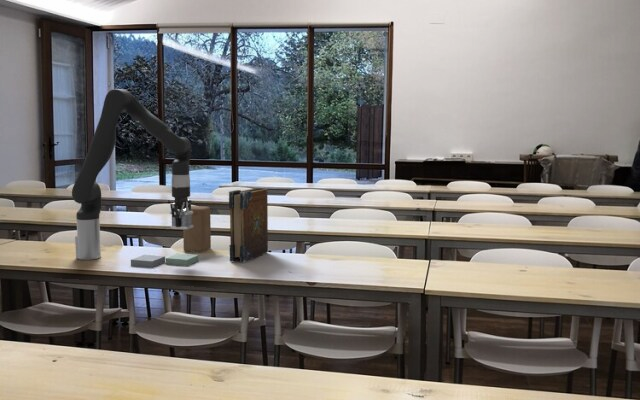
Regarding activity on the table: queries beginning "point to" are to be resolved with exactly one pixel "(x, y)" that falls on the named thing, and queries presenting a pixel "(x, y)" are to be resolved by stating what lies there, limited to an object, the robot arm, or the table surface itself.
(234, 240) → the decorative book
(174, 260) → the stand
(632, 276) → the table surface
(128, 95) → the robot arm
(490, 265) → the table surface
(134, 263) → the stand
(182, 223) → the housing
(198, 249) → the wooden block
